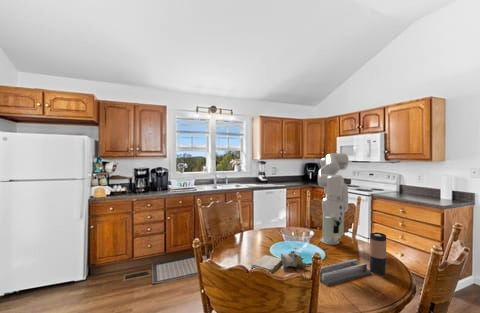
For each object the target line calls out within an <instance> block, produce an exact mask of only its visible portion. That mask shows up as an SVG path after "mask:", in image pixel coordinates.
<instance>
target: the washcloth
mask: <svg viewBox="0 0 480 313" xmlns="http://www.w3.org/2000/svg"><path fill="white" fill-rule="evenodd" d="M281 265H283V263H282V261H281V257H275V256H271V255H266V254H265V255H263V256H262V257H260V258H259V259H257V260H256V261H255V262H253V263H251V269H253V268H263V269H265V270H267V271H269V272H271V273H274V272H275V270H276V269H277V268H279V267H280V266H281ZM271 273H270V274H271Z"/></svg>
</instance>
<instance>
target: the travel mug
mask: <svg viewBox="0 0 480 313" xmlns="http://www.w3.org/2000/svg"><path fill="white" fill-rule="evenodd" d="M386 263H387V234H386V233H383V232H382V233H381V232H370V233H369V270H370V271H371V274H374V275H376V276H377V275H378V276H385V275H386V266H387V264H386Z"/></svg>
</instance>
